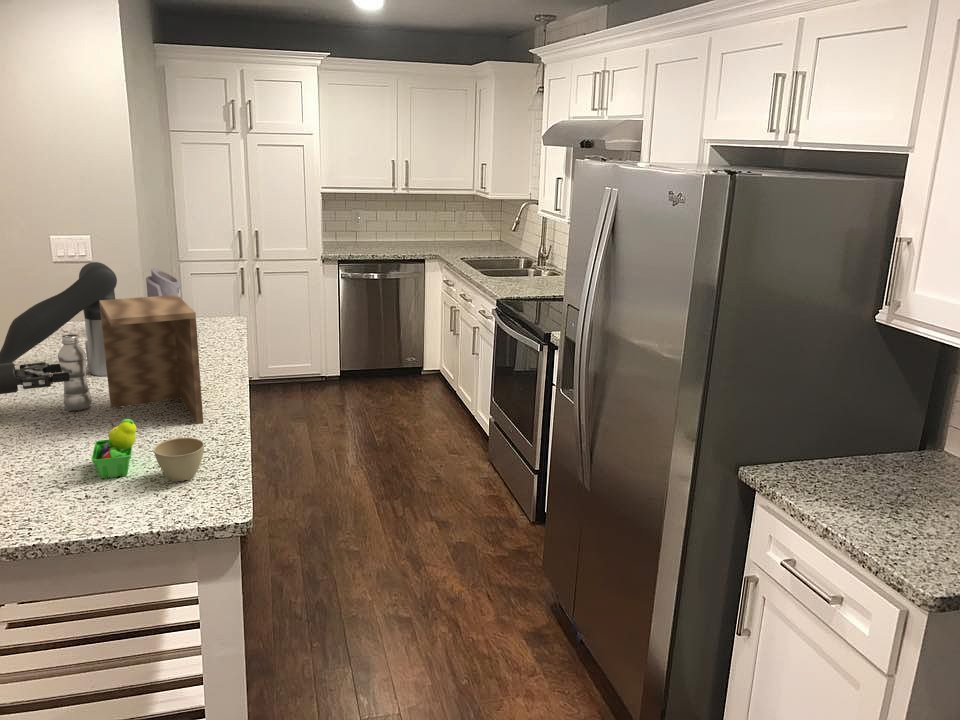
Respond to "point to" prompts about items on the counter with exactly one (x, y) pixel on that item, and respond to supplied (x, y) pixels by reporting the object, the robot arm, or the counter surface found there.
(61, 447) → the counter surface
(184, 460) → the flower pot
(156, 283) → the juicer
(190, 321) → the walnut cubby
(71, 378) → the plastic bottle
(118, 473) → the fruit basket
